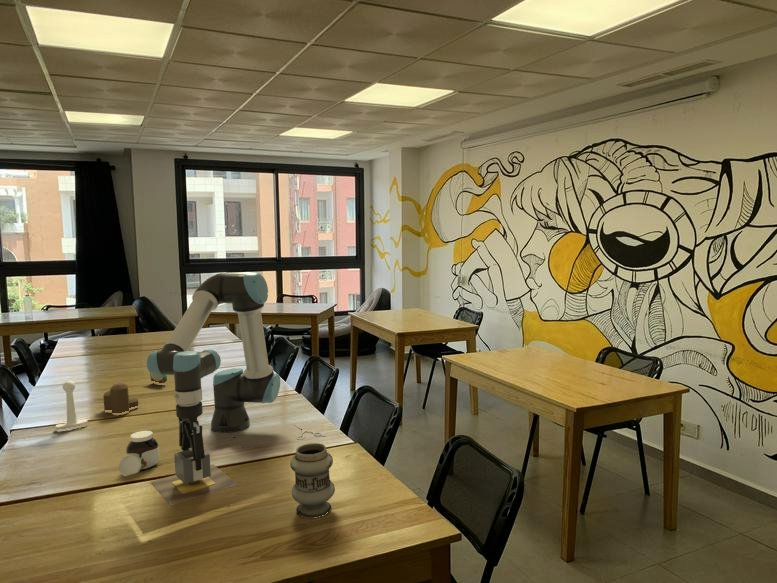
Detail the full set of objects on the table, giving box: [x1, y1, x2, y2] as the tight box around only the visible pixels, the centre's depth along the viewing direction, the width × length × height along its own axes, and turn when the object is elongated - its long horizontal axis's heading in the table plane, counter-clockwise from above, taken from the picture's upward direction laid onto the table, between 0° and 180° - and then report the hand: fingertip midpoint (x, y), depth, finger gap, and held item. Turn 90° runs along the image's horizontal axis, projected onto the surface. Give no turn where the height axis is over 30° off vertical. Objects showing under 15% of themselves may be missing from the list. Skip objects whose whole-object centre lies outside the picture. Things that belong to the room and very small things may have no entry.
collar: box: [173, 448, 211, 484], centre depth 167 cm, size 8×8×7 cm
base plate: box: [150, 463, 239, 507], centre depth 168 cm, size 20×20×2 cm
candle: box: [103, 380, 139, 414], centre depth 243 cm, size 14×14×15 cm
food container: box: [149, 372, 168, 383], centre depth 288 cm, size 12×6×10 cm, turn 58°
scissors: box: [296, 428, 326, 441], centre depth 215 cm, size 11×1×20 cm
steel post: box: [188, 480, 199, 485], centre depth 167 cm, size 3×3×8 cm
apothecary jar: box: [289, 442, 336, 519], centre depth 152 cm, size 12×12×18 cm
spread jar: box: [118, 430, 160, 477], centre depth 181 cm, size 12×11×12 cm
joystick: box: [55, 380, 89, 431], centre depth 223 cm, size 11×8×20 cm
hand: (193, 474), depth 167 cm, fingers closed on collar, 8 cm apart
